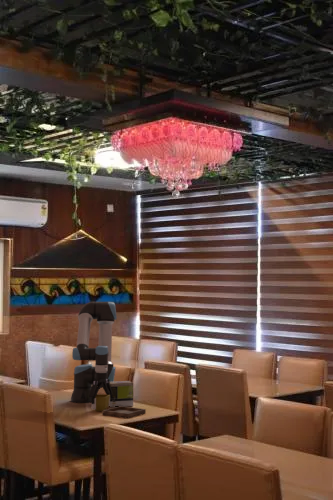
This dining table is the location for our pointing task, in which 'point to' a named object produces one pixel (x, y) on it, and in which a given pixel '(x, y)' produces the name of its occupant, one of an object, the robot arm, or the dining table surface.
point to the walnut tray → (124, 412)
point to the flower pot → (102, 402)
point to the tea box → (121, 393)
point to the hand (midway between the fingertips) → (100, 407)
